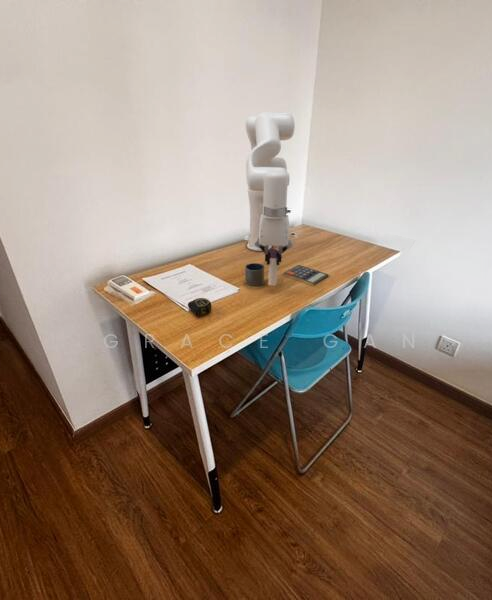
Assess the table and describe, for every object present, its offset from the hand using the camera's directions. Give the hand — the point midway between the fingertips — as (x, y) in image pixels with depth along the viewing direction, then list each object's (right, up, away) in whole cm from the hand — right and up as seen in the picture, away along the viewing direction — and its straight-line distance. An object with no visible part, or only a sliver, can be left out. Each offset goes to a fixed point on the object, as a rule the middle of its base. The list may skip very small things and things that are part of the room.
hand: (273, 263), depth 114 cm
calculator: (+14, -3, +21) cm, 26 cm away
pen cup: (-7, -7, +13) cm, 16 cm away
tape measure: (-25, -18, -6) cm, 31 cm away
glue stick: (0, -7, +4) cm, 8 cm away
